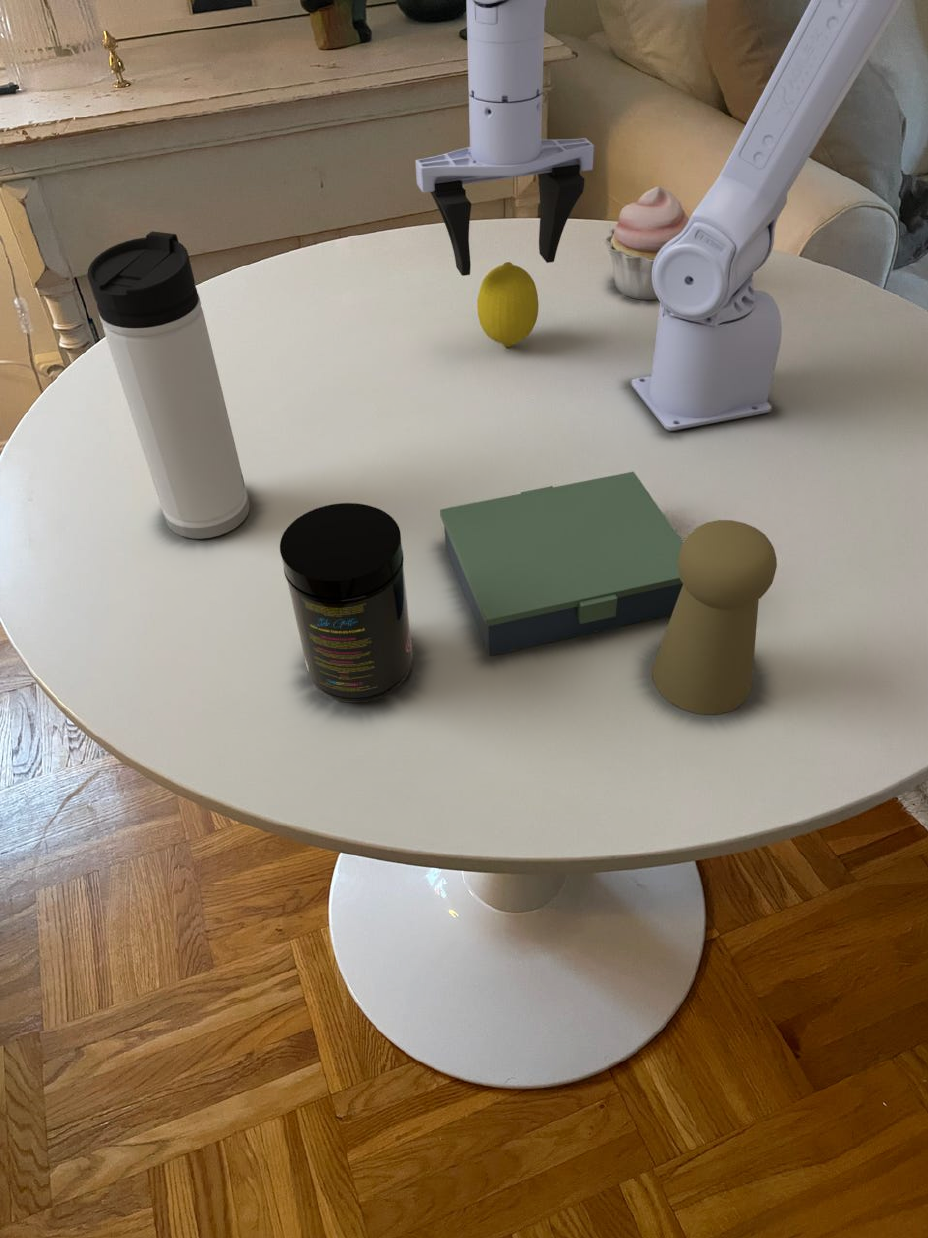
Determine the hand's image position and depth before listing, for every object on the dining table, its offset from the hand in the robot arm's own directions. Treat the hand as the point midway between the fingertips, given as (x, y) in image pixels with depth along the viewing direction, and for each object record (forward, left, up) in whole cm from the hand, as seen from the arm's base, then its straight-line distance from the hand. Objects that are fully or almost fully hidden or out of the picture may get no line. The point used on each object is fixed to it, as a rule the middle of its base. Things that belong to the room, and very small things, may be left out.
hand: (505, 264), depth 81 cm
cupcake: (-17, -7, -8) cm, 21 cm away
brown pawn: (+1, +43, -8) cm, 44 cm away
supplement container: (+21, +36, -8) cm, 42 cm away
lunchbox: (+6, +32, -8) cm, 33 cm away
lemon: (0, 0, -8) cm, 8 cm away
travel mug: (+29, +17, -8) cm, 34 cm away
